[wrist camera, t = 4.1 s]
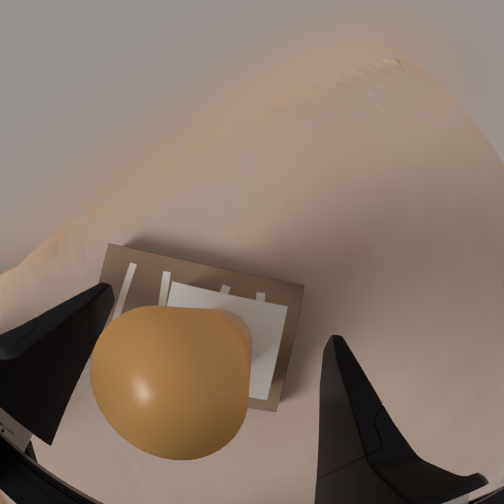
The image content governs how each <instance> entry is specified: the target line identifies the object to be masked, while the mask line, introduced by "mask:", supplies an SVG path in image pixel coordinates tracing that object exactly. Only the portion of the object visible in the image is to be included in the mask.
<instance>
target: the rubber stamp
mask: <svg viewBox="0 0 504 504" xmlns="http://www.w3.org/2000/svg"><path fill="white" fill-rule="evenodd" d="M287 308H288V306H283V305H278V304H272V303H267V302H262V301H257V300H253V299H248V298H243V297H238V296H234V295H229V294H224V293H220V292H215V291H211V290H206V289H202V288H198V287H193V286H189V285H185V284H181V283H177V282H173V281H172V285H171V289H170V294H169V298H168V303H167V306H157V305H153V306H143V307H139V308H135V309H132V310H129V311H127V312H125V313H123V314H121V315H120V316H118V317H117V318H115V319H114V320H113V321H112V322H110V323H109V325H108V326H107V327H106V328H105V329H104V330H103V332H102V333H101V335H100V336H99V338H98V340H97V342H96V344H95V347H94V350H93V354H92V359H91V371H90V372H91V383H92V388H93V392H94V395H95V398H96V401H97V403H98V405H99V408H100V410H101V411H102V413H103V415H104V416H105V418H106V419H107V421H108V422H109V423H110V425H111V426H112V427H113V428H114V429H115V430H116V432H117V433H118V434H120V435H121V436H122V437H123V438H124V439H125V440H126V441H128V442H129V443H131V444H132V445H134V446H135V447H137V448H139V449H141V450H142V451H144V452H147V453H149V454H152V455H154V456H158V457H161V458H166V459H172V460H192V459H197V458H202V457H205V456H207V455H210V454H212V453H214V452H216V451H218V450H220V449H221V448H223V447H224V446H225V445H227V444H228V443H229V442H230V441H231V440H232V439H233V438H234V436H235V435H236V434H237V432H238V431H239V429H240V427H241V425H242V424H243V422H244V419H245V416H246V412H247V407H248V399H249V397H251V398H257V399H262V400H267V398H268V394H269V390H270V386H271V381H272V377H273V373H274V369H275V364H276V360H277V355H278V351H279V346H280V342H281V337H282V332H283V328H284V323H285V318H286V313H287Z"/></svg>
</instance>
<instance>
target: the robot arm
mask: <svg viewBox="0 0 504 504" xmlns="http://www.w3.org/2000/svg"><path fill="white" fill-rule="evenodd" d="M114 303H115V297H114V293H113V289H112V286H111V284H108V283H105V282H101V283H99V284H97V285H95V286H93V287H92V288H90V289H88V290H86V291H84V292H82V293H80V294H78V295H76V296H74V297H72V298H71V299H69V300H67V301H65V302H63V303H61V304H59V305H58V306H56V307H54V308H52V309H50V310H48V311H47V312H45V313H43V314H41V315H39V317H36V318H34V319H32V320H30V321H28V322H27V323H25V324H23V325H21V326H19V327H17V328H14V329H12V330H10V331H8V332H6V333H4V334H1V335H0V489H1V490H2V491H3V492H4V493H5V494H6V495H8V496H9V497H10V498H11V499H12V500H13V501H14V502H15V503H17V504H103V503H101V502H99V501H97V500H95V499H94V498H92V497H90V496H88V495H86V494H84V493H83V492H81V491H79V490H77V489H76V488H74V487H72V486H71V485H69V484H67V483H66V482H64V481H63V480H61V479H60V478H58V477H57V476H55V475H54V474H52V473H51V472H49V471H48V470H46V469H45V468H44V467H42V466H41V465H40V464H38V463H37V460H36V456H35V453H34V450H33V446H32V442H31V440H30V439H31V437H32V435H33V434H34V435H35V436H37V437H38V438H40V439H41V440H43V441H44V442H45V443H47V444H48V445H50V446H51V444H52V442H53V440H54V437H55V434H56V432H57V429H58V426H59V424H60V421H61V419H62V416H63V414H64V412H65V409H66V407H67V404H68V402H69V400H70V397H71V395H72V393H73V391H74V388H75V386H76V384H77V382H78V380H79V378H80V375H81V373H82V371H83V369H84V367H85V365H86V363H87V361H88V359H89V357H90V355H91V353H92V351H93V349H94V347H95V344H96V342H97V340H98V338H99V336H100V335H101V333H102V332H103V329H104V327H105V324H106V322H107V320H108V317H109V315H110V312H111V310H112V308H113V305H114ZM488 483H489V482H488V480H487V479H486V478H485V477H484V476H483V475H481V474H480V473H475V474H472V475H469V476H459V475H456V474H453V473H451V472H449V471H446V470H444V469H442V468H439V467H437V466H435V465H433V464H430V463H428V462H426V461H424V460H423V459H421V458H420V457H419V456H418V455H417V454H416V453H415V452H414V451H413V449H412V448H411V447H410V445H409V444H408V442H407V441H406V440H405V438H404V437H403V435H402V434H401V433H400V431H399V430H398V428H397V427H396V425H395V424H394V422H393V421H392V419H391V418H390V416H389V414H388V413H387V411H386V409H385V407H384V406H383V405H382V402H381V401H380V399H379V397H378V395H377V394H376V392H375V390H374V388H373V387H372V385H371V383H370V382H369V380H368V378H367V377H366V375H365V373H364V371H363V370H362V368H361V366H360V365H359V363H358V361H357V360H356V358H355V356H354V355H353V353H352V351H351V350H350V348H349V346H348V345H347V343H346V342H345V340H344V338H343V337H342V336H339V335H332V336H331V337H330V339H329V340H328V342H327V344H326V346H325V348H324V352H323V362H322V371H321V380H320V410H319V446H318V466H317V480H316V492H315V503H314V504H504V486H503V487H501V488H499V489H496V490H494V491H492V492H490V493H488V494H485V495H483V496H480V497H478V498H476V499H473V500H470V501H469V494H468V493H470V492H472V491H474V490H476V489H479V488H481V487H483V486H485V485H487V484H488Z"/></svg>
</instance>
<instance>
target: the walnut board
mask: <svg viewBox="0 0 504 504" xmlns="http://www.w3.org/2000/svg"><path fill="white" fill-rule="evenodd" d="M172 281H173V282H177V283H181V284H185V285H189V286H193V287H198V288H202V289H206V290H211V291H215V292H220V293H224V294H229V295H234V296H238V297H243V298H248V299H253V300H257V301H262V302H267V303H272V304H278V305H283V306H288V308H287V313H286V318H285V323H284V328H283V332H282V337H281V342H280V346H279V351H278V355H277V360H276V364H275V369H274V373H273V377H272V381H271V386H270V390H269V394H268V398H267V400H262V399H257V398H251V397H249V399H248V408H253V409H259V410H265V411H271V412H276V411H277V407H278V404H279V400H280V396H281V392H282V388H283V384H284V379H285V375H286V371H287V367H288V362H289V358H290V353H291V349H292V344H293V340H294V335H295V330H296V325H297V321H298V316H299V310H300V305H301V300H302V295H303V289H304V285H301V284H295V283H290V282H285V281H280V280H275V279H270V278H265V277H260V276H255V275H250V274H246V273H241V272H236V271H231V270H226V269H222V268H217V267H212V266H208V265H203V264H198V263H194V262H189V261H185V260H180V259H176V258H171V257H167V256H162V255H158V254H153V253H149V252H145V251H140V250H136V249H132V248H128V247H123V246H119V245H115V244H111V243H109V245H108V248H107V252H106V256H105V260H104V263H103V267H102V271H101V276H100V280H99V283H101V282H105V283H108V284H111V286H112V289H113V293H114V297H115V303H114V305H113V308H112V310H111V312H110V315H109V317H108V320H107V322H106V324H105V327H104V329H105V328H106V327H107V326H108V325H109V323H110V322H112V321H113V320H114V319H115V318H117V317H118V316H120V315H121V314H123V313H125V312H127V311H129V310H132V309H135V308H139V307H143V306H153V305H157V306H167V303H168V298H169V294H170V289H171V285H172ZM104 329H103V330H104ZM93 350H94V349H93ZM92 354H93V351H92V353H91V355H90V358H92Z"/></svg>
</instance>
